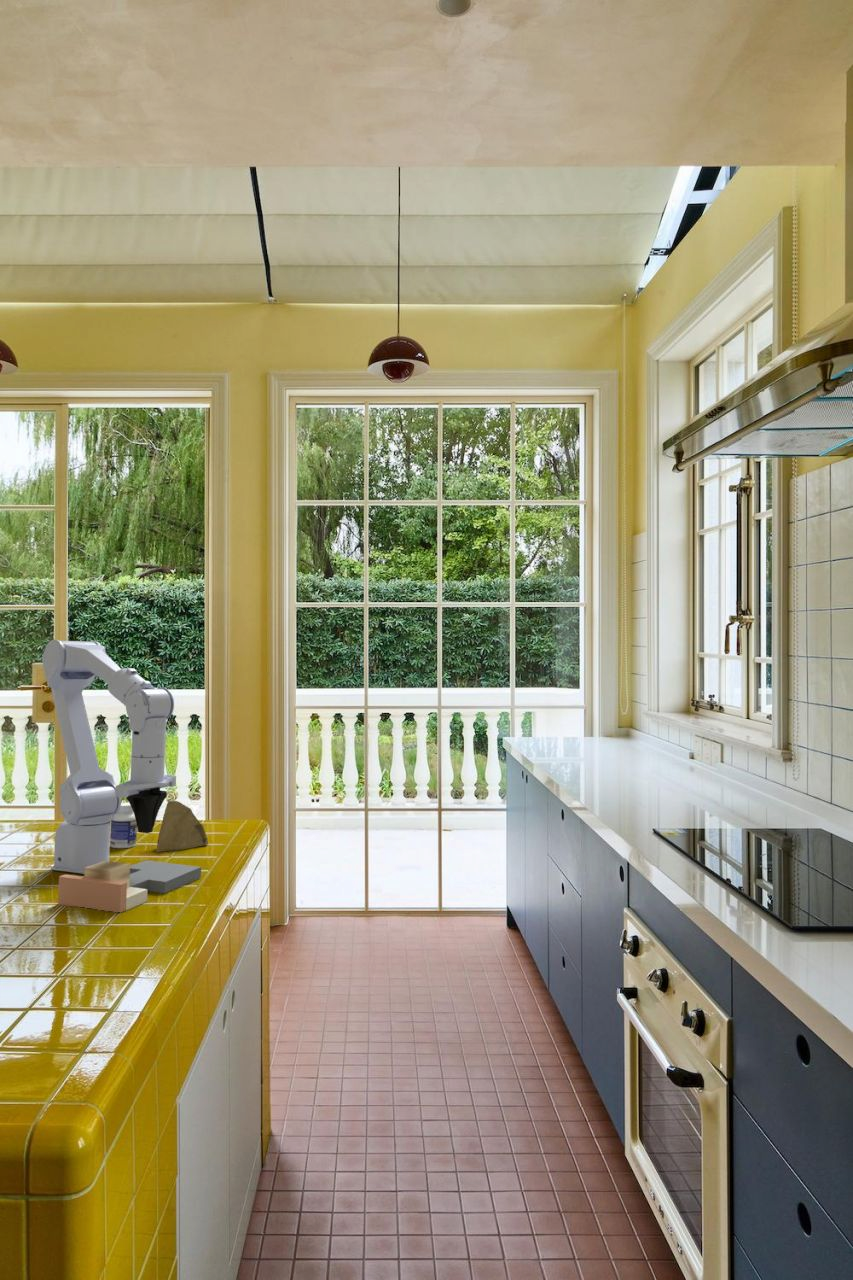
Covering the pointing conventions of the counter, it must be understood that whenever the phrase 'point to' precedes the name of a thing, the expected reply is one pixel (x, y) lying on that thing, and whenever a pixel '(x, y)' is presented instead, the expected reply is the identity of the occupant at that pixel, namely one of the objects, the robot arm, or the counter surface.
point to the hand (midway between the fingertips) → (145, 832)
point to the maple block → (109, 871)
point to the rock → (180, 829)
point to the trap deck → (125, 886)
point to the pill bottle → (123, 828)
